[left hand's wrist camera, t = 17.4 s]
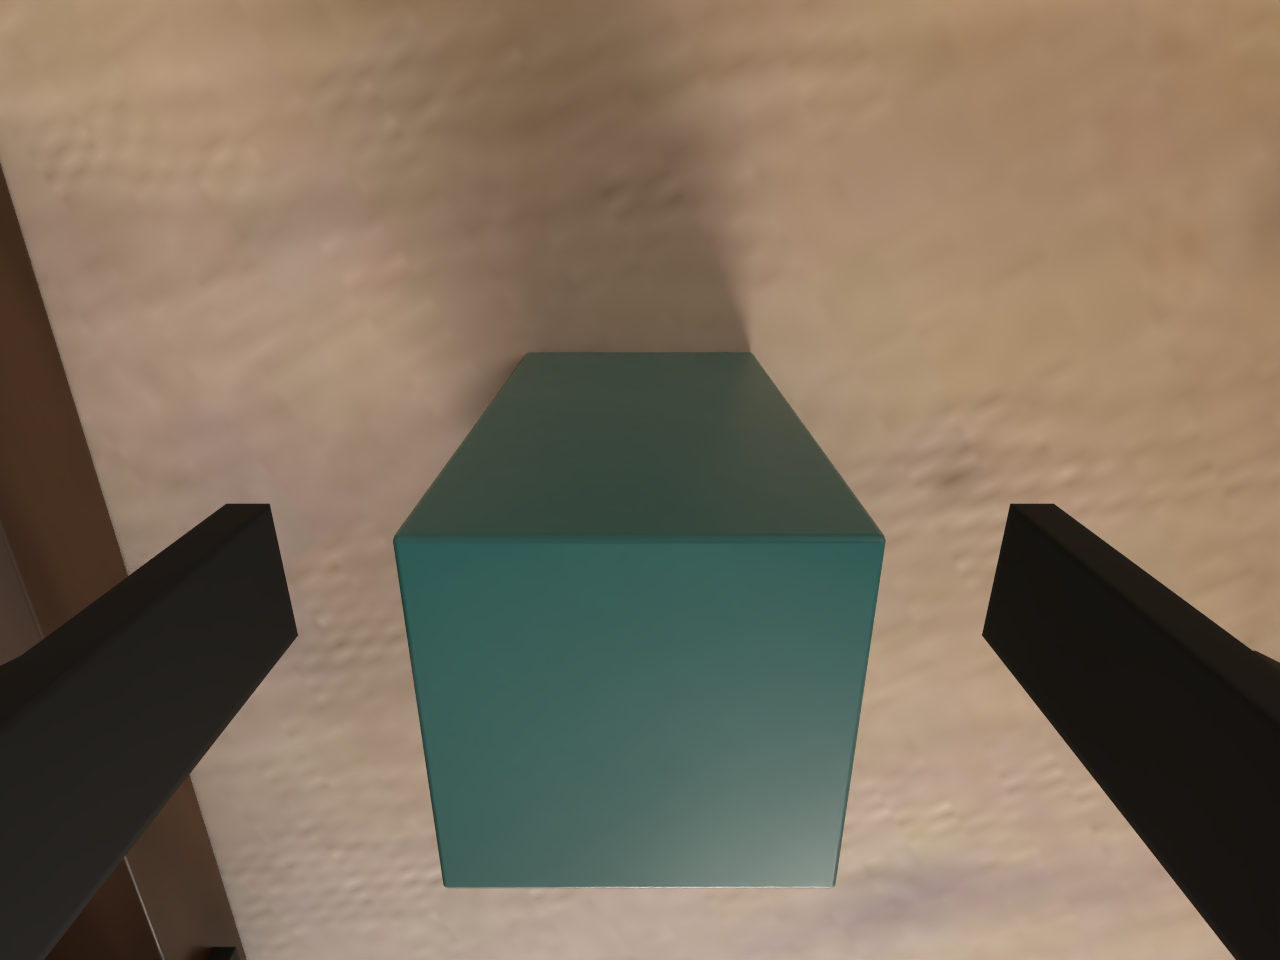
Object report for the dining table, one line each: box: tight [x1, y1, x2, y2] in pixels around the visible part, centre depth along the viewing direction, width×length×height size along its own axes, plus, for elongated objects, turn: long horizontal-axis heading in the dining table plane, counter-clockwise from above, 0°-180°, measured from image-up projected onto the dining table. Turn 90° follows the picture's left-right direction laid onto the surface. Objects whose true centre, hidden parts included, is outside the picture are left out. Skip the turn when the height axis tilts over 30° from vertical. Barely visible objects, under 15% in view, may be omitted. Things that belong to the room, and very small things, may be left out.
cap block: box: [393, 353, 886, 888], centre depth 13 cm, size 6×6×10 cm
